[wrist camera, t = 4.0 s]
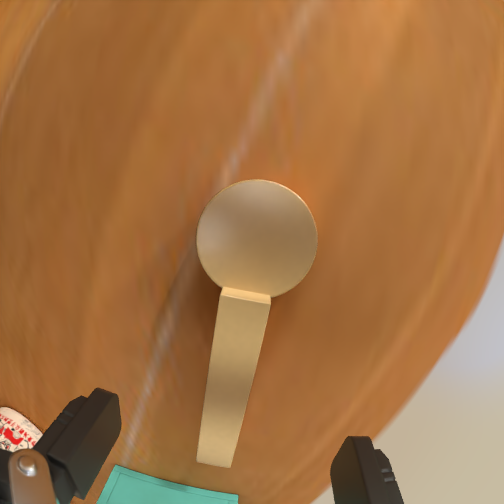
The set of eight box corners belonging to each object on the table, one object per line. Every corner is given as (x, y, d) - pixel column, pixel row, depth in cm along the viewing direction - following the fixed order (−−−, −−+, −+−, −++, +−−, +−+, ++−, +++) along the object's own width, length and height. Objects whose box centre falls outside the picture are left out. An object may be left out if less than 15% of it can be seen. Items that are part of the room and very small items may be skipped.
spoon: (256, 440, 18) (254, 471, 15) (181, 426, 18) (171, 456, 15) (321, 192, 14) (334, 194, 12) (213, 171, 14) (201, 168, 12)
